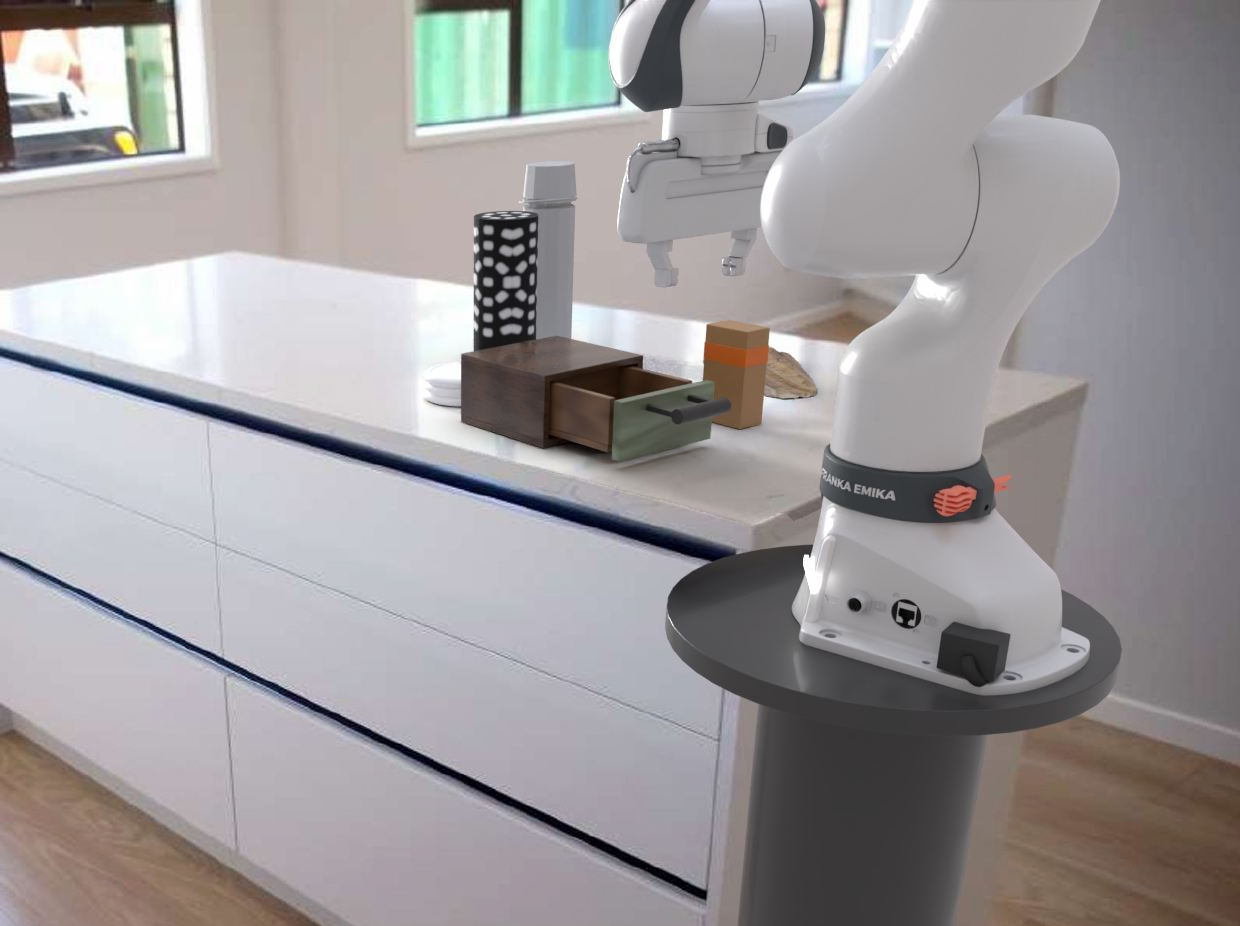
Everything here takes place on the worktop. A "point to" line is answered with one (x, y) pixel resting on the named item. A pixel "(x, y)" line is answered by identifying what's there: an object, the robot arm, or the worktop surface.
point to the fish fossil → (786, 377)
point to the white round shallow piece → (443, 384)
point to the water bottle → (553, 242)
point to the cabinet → (528, 383)
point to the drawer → (632, 411)
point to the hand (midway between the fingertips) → (699, 280)
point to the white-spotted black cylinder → (505, 278)
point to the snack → (737, 369)
